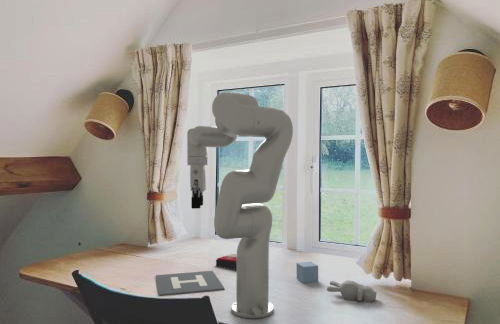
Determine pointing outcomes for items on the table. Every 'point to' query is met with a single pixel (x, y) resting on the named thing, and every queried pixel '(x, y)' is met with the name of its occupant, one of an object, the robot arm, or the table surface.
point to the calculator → (227, 261)
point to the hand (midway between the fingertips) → (197, 206)
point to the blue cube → (307, 272)
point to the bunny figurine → (353, 291)
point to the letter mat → (188, 283)
